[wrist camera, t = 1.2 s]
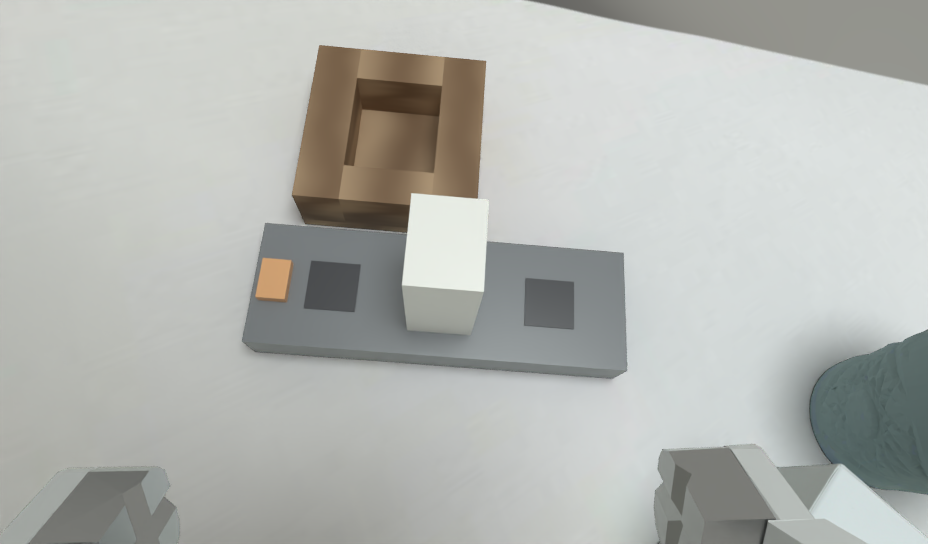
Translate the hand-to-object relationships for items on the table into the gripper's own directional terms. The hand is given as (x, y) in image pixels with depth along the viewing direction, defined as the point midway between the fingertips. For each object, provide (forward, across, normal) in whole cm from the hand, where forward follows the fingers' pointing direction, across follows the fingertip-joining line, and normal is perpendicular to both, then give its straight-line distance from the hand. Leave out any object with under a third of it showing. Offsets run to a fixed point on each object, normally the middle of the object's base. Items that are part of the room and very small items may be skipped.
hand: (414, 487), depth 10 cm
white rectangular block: (+28, +1, +10) cm, 30 cm away
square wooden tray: (+37, +4, +2) cm, 37 cm away
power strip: (+29, +1, +11) cm, 31 cm away
